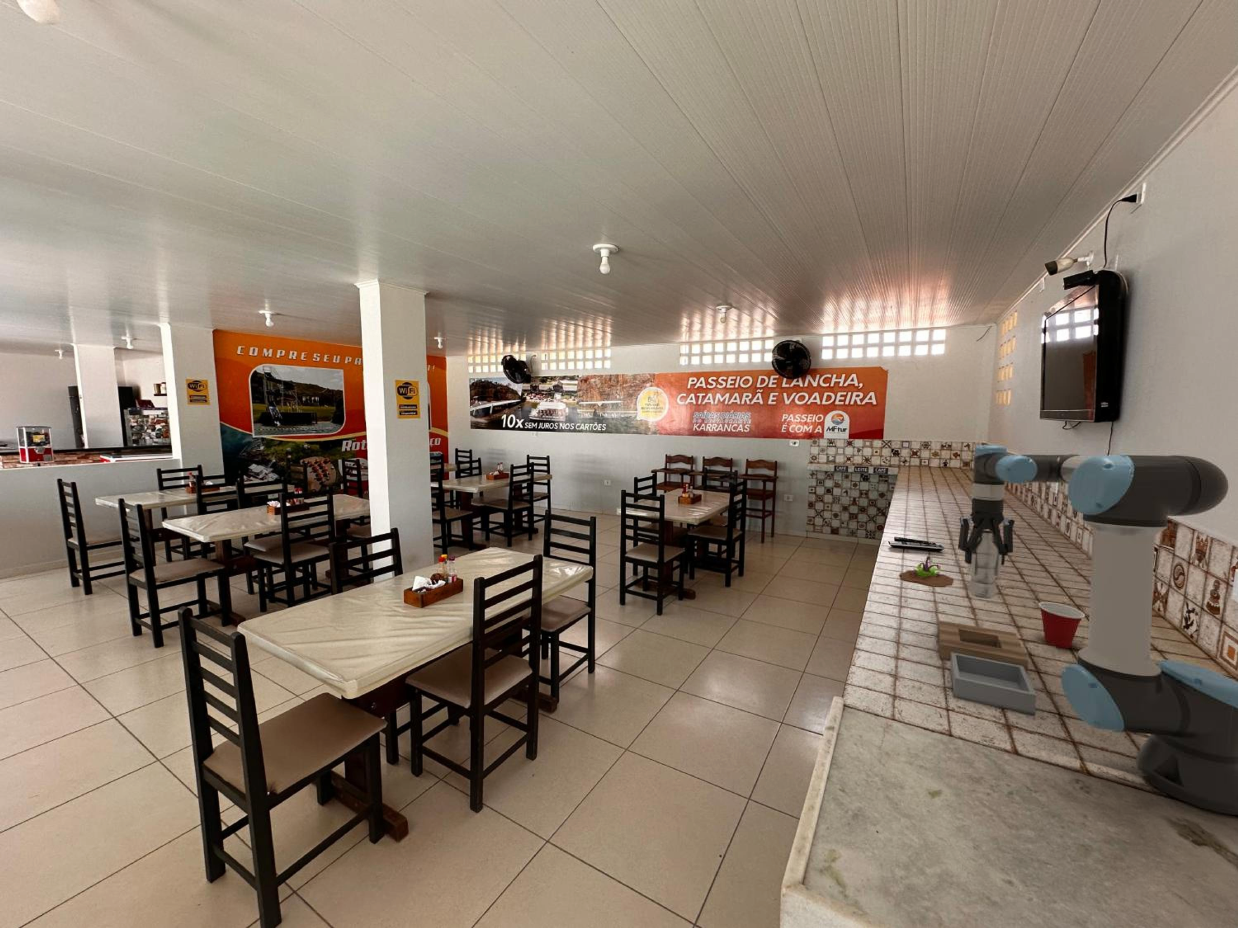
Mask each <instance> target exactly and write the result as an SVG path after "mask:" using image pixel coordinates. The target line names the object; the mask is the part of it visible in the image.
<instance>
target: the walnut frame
mask: <svg viewBox="0 0 1238 928" xmlns="http://www.w3.org/2000/svg"><path fill="white" fill-rule="evenodd" d="M937 624H938V625H937V637H938V646H939V647H938V648H939V654H940V655H939V656H940V660H947V661H950V662H951V652H952V653H957V654H962V655H967V656H973V657H978V658H983V659H988V660H993V661H999V662H1004V663H1009V664H1014V665H1019V666H1023V667H1024V669H1025V671H1026V673H1027V674H1028V669H1029V659H1028V657H1027V655H1026V652H1025V650H1024V648H1023V646H1022V644H1021V642H1020V640H1019V638H1018V636H1017V634H1016V632H1011V631H1005V630H999V629H994V628H993V629H992V628H988V627H981V626H977V625H970V624H963V623H958V622H952V621H945V620H941V619H938V623H937Z"/></svg>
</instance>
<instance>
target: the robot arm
mask: <svg viewBox="0 0 1238 928" xmlns="http://www.w3.org/2000/svg"><path fill="white" fill-rule="evenodd" d="M972 474H973V477H972V493H971V495H972V496H973V498H971V513H970V515H969V516H966V517H963V516H960V517H959V523H960V528H959V529H960V530H959V536H958V537H959V538H958V545H957V548H958V549H959V550H960V551H962V552H964V563H965V564H967V566H966V567H967V568H966V569H967V571H966V574H969V575H970V576H975V558H976V554H974V553H973V551H974V548H975V546H976V544H977V541H978V539H979V537H980V534H981V533H982V532H983V530H985V531H987V530H988V531H992V532H993V533H994V536H993V537H994V539H993V541H994V543H995V544H996V545H997V547H998V549H999V554H998V558H997V561H996V567H995V577H998V578H1000V577H1001V576H1002V566H1004V565H1005V559H1006V557H1005V556H1007V555H1008V554H1012V553H1013V552H1014V539H1013V536H1014V534H1013V533H1014V532H1013V531H1014V530H1013V528H1014V525H1015V520H1014V519H1011V518H1009V517H1008V518H1007V517H1005V516H1004V514H1003V512H1004V506H1005V501H1004V500H1003V499H1004V498H1005V490H1006V489H1005V484H1006V483H1008V484H1026V483H1054V484H1057V483H1058V484H1067V485H1068V486H1067V498H1068V500H1069V501H1070V505H1071V507H1072V508H1073V509H1074V510H1075V511H1076V512H1078V513H1080V514H1082V522H1083V523H1085V524H1086V525H1087V526H1088V527H1089V528H1090V529H1091V530H1092V532H1091V533H1092V539H1091V563H1090V564H1091V566H1090V567H1091V568H1090V589H1089V590H1090V596H1089V617H1088V618H1089V620H1088V643H1087V644H1088V645H1087V646H1086V647H1084V648H1082V649H1080V650H1079V651H1077V663H1071V664H1068V665H1065V666H1064V668H1063V669H1062V670H1061V677H1060V678H1061V679H1060V680H1061V685H1062V691H1063V693H1064V697H1065V698H1066V700H1067V702H1068V703H1069V705H1070V707H1071V709H1072V710H1073V711H1074V713H1075V714H1076V715H1077V716H1078V718H1079V719H1081V720H1082V721H1083V722H1084V723H1085V724H1087V725H1088V726H1091V727H1092V728H1096V729H1099V730H1107V731H1112V732H1114V733H1134V734H1144V735H1145V734H1146V735H1150V736H1149V737H1148V738H1147V740H1145V742H1144V744H1143V745H1142V747H1141V748H1140V749H1139V750H1138V752H1137V754H1136V765H1137V767H1138V769H1139V770H1140V771H1141V773H1143V774H1144V775H1142V777H1143V778H1144V779H1145V780H1146V781H1148V782H1149V783H1150V784H1152V785H1153V786H1155V787H1156V788H1158V789H1160V790H1161V791H1162V792H1164V793H1167V794H1168V795H1170V796H1172V797H1174V798H1176V799H1179V800H1181V801H1183V802H1185V803H1188V804H1191V805H1194V806H1196V807H1198V808H1202V809H1206V810H1209V811H1211V812H1215V813H1220V814H1226V815H1233V816H1238V681H1236V680H1234V679H1232V678H1230V677H1227V676H1226V675H1224V674H1221V673H1219V672H1215V671H1213V670H1210V669H1209V668H1205V667H1201V666H1197V665H1195V664H1191V663H1187V662H1184V661H1178V660H1171V659H1162V660H1160V661H1159V662H1158V664H1156V663H1155V662H1154V661H1153V660H1152V659H1151V642H1152V641H1151V639H1152V638H1151V637H1152V636H1151V635H1152V632H1151V631H1152V615H1153V614H1152V611H1153V594H1154V593H1153V591H1154V590H1153V589H1154V588H1153V587H1154V569H1155V568H1154V567H1155V565H1154V564H1155V543H1156V542H1155V541H1156V536H1157V535H1158V534H1159V533H1161V532H1162V531H1164V530H1166V529H1168V517H1177V516H1178V517H1182V516H1183V517H1186V516H1191V515H1193V516H1194V515H1199V514H1202V513H1205V512H1208V511H1211V510H1213V509H1214V508H1216V507H1217V506H1219V504H1221V503H1222V502H1223V501H1224V499H1225V498H1226V497H1227V494H1228V491H1229V481H1228V478H1227V476H1226V474H1225V473H1224V471H1223V470H1222V469H1221V468H1220V467H1219V466H1217V465H1216V464H1214V463H1212V462H1210V461H1208V460H1206V459H1203V458H1201V457H1194V456H1190V455H1176V454H1175V455H1158V454H1157V455H1155V454H1154V455H1149V454H1148V455H1147V454H1145V455H1144V454H1142V455H1140V454H1139V455H1137V454H1134V455H1133V454H1131V455H1130V454H1119V453H1117V454H1112V455H1096V456H1088V455H1085V454H1075V453H1074V454H1073V453H1072V454H1071V453H1070V454H1011V453H1010V454H1009V453H1008V451H1007V447H1006V446H1004V445H989V444H987V445H977V446H976V447H975V449H974V456H973V473H972ZM971 522H972V523H973V526H972V529H971V533H970V535H969V532H970V524H971ZM1001 524H1002V525H1003V526H1002V532H1003V533H1002V534H1003V535H1001V528H1000V525H1001ZM1002 536H1003V537H1002Z"/></svg>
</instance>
